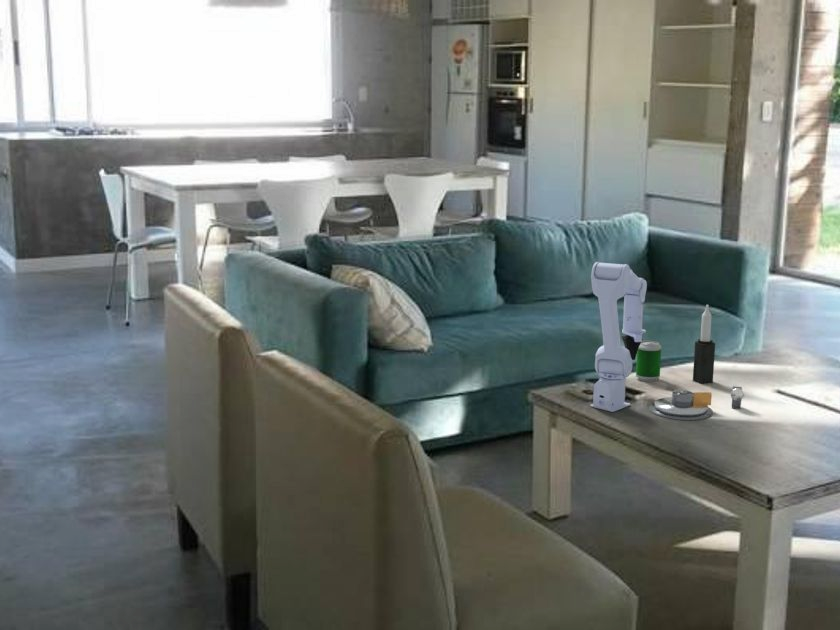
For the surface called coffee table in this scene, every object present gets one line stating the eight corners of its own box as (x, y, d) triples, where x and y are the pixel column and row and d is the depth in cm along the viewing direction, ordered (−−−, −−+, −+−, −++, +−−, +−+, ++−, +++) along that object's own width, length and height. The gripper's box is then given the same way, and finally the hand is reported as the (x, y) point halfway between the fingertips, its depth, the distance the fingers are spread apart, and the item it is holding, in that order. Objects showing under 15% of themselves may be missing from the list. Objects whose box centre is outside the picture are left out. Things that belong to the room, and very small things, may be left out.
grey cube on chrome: (742, 409, 307) (744, 389, 306) (729, 408, 308) (731, 388, 306) (742, 406, 310) (743, 386, 309) (729, 405, 311) (730, 385, 309)
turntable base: (692, 424, 294) (692, 423, 294) (637, 410, 306) (637, 409, 306) (724, 410, 306) (724, 409, 306) (670, 397, 319) (670, 396, 318)
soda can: (661, 382, 335) (663, 345, 332) (638, 382, 335) (639, 345, 332) (657, 376, 342) (658, 340, 340) (633, 375, 342) (635, 339, 340)
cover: (675, 408, 303) (675, 394, 302) (669, 401, 308) (670, 388, 308) (695, 407, 303) (696, 394, 302) (689, 401, 309) (690, 388, 308)
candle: (691, 380, 337) (695, 303, 332) (703, 378, 339) (708, 302, 334) (701, 384, 333) (706, 306, 327) (714, 382, 335) (719, 305, 329)
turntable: (661, 416, 299) (662, 400, 298) (649, 401, 313) (650, 385, 312) (717, 416, 299) (718, 400, 298) (703, 400, 313) (703, 385, 312)
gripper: (652, 321, 314) (650, 365, 317) (639, 311, 328) (637, 353, 331) (629, 321, 314) (627, 365, 317) (617, 311, 328) (615, 353, 331)
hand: (631, 359), depth 324 cm, fingers closed
